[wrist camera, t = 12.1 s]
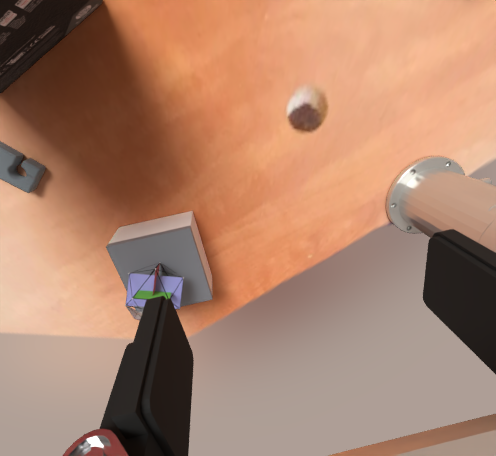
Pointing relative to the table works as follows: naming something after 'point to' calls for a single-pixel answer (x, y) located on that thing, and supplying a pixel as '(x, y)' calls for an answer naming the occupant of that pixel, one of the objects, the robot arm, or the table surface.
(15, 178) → the bracket
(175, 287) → the geometric puzzle
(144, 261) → the grey stand
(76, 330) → the table surface
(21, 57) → the graphics card box
